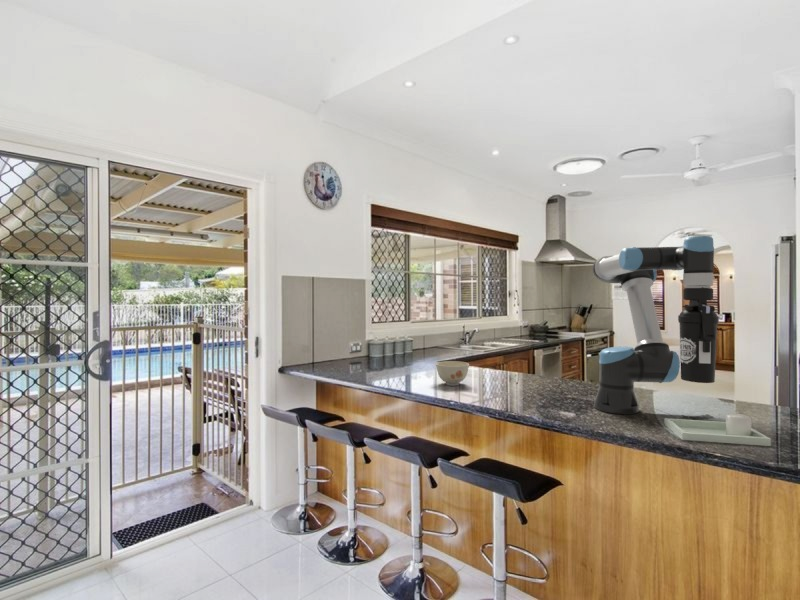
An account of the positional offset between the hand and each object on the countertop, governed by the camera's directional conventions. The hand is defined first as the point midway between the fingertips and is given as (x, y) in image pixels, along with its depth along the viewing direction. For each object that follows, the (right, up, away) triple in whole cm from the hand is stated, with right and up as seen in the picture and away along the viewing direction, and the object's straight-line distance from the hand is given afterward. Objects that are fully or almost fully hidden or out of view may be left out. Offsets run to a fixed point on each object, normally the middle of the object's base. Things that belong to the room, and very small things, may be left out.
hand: (697, 360), depth 130 cm
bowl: (-66, -23, +76) cm, 103 cm away
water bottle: (0, -6, 0) cm, 6 cm away
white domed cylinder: (+11, -22, -2) cm, 25 cm away
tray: (+4, -23, -1) cm, 24 cm away
